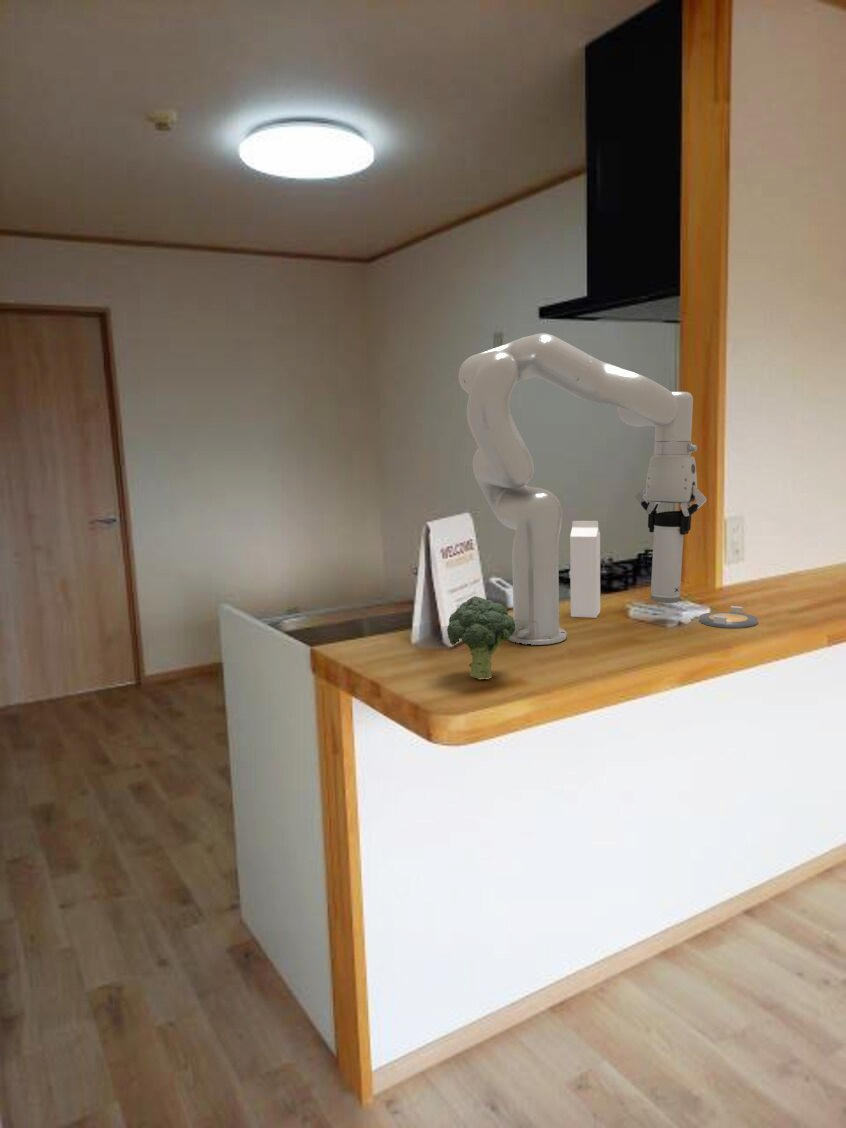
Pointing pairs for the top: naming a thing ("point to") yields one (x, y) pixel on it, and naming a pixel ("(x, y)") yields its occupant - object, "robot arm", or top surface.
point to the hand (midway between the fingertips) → (668, 532)
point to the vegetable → (480, 631)
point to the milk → (585, 569)
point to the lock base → (729, 619)
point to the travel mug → (667, 557)
